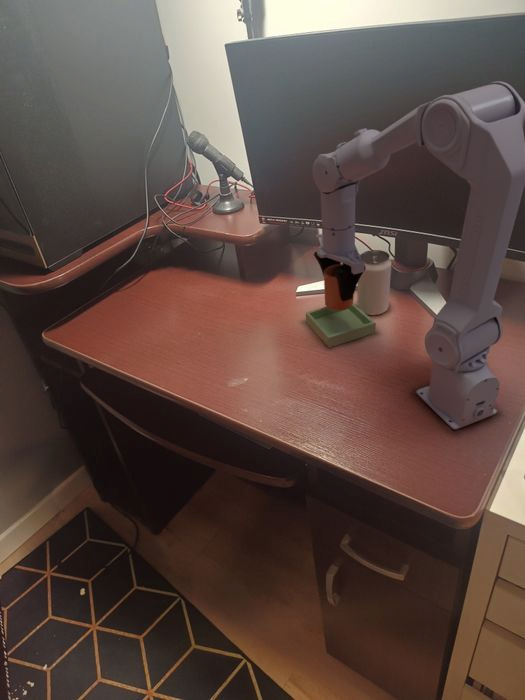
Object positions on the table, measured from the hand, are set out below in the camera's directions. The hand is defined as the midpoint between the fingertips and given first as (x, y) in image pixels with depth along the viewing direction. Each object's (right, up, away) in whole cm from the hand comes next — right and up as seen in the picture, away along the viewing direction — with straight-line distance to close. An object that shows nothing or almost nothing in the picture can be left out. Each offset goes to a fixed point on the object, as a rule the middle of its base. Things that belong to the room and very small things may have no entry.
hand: (339, 292), depth 88 cm
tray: (+1, -7, +5) cm, 8 cm away
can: (+9, -2, +10) cm, 13 cm away
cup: (0, -2, +1) cm, 2 cm away
